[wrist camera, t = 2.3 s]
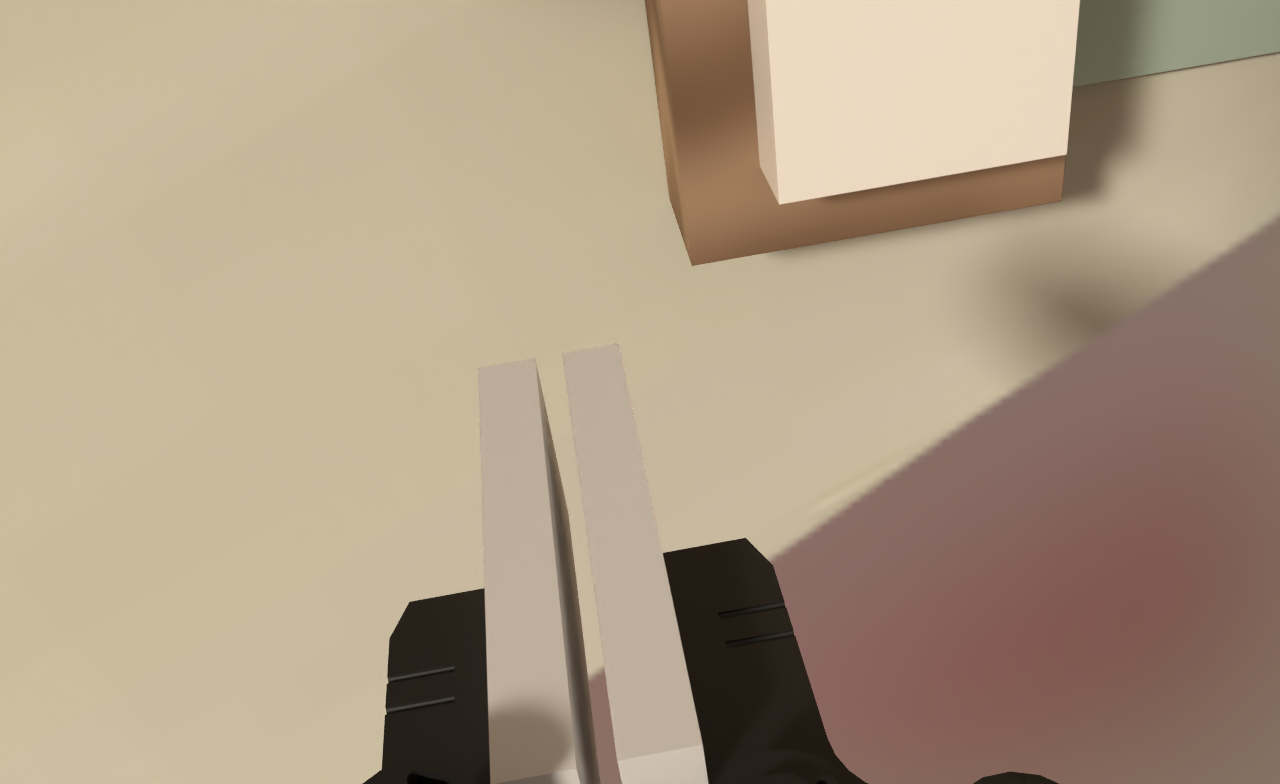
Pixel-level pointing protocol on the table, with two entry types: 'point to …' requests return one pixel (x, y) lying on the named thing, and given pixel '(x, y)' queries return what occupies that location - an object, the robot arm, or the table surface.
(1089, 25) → the mat
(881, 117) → the tile
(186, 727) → the table surface
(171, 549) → the table surface
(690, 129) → the brown flat block
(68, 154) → the table surface
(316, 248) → the table surface
